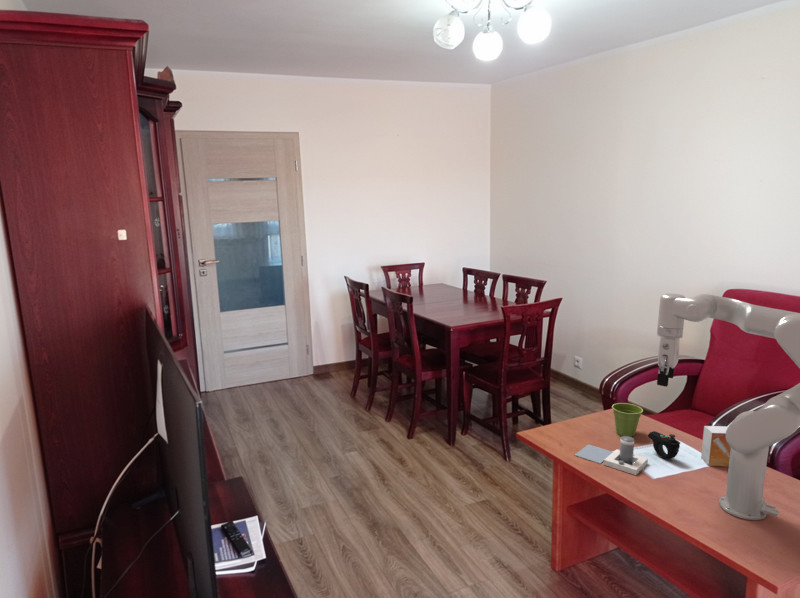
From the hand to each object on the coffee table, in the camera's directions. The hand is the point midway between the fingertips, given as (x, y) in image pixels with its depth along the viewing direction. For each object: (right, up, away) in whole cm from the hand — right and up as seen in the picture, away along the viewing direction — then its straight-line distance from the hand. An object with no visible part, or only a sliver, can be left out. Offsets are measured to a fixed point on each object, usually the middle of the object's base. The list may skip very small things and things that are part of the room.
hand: (665, 381), depth 179 cm
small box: (+28, -33, +19) cm, 47 cm away
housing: (-5, -33, +18) cm, 38 cm away
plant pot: (+5, -29, +44) cm, 52 cm away
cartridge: (-5, -33, +18) cm, 38 cm away
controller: (+11, -32, +24) cm, 41 cm away
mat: (-14, -32, +26) cm, 44 cm away
